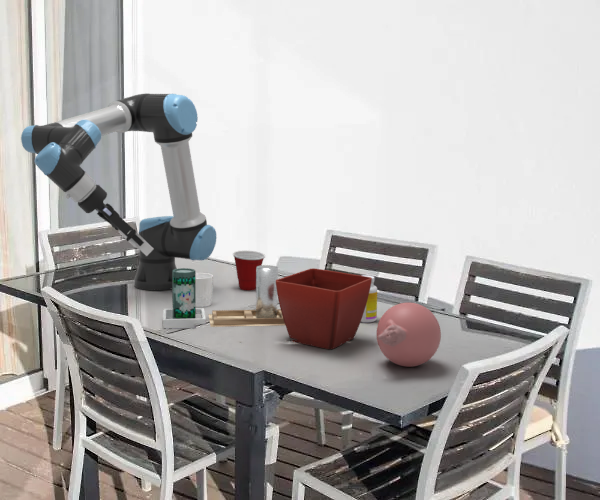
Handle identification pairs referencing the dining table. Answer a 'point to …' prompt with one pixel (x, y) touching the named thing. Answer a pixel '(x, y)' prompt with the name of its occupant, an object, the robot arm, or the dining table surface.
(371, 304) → the supplement bottle
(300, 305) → the plant pot
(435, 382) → the dining table surface
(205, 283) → the white cup
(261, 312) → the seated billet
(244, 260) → the plastic cup
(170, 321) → the frame
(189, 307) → the can
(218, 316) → the wooden tray
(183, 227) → the robot arm
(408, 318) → the balloon
